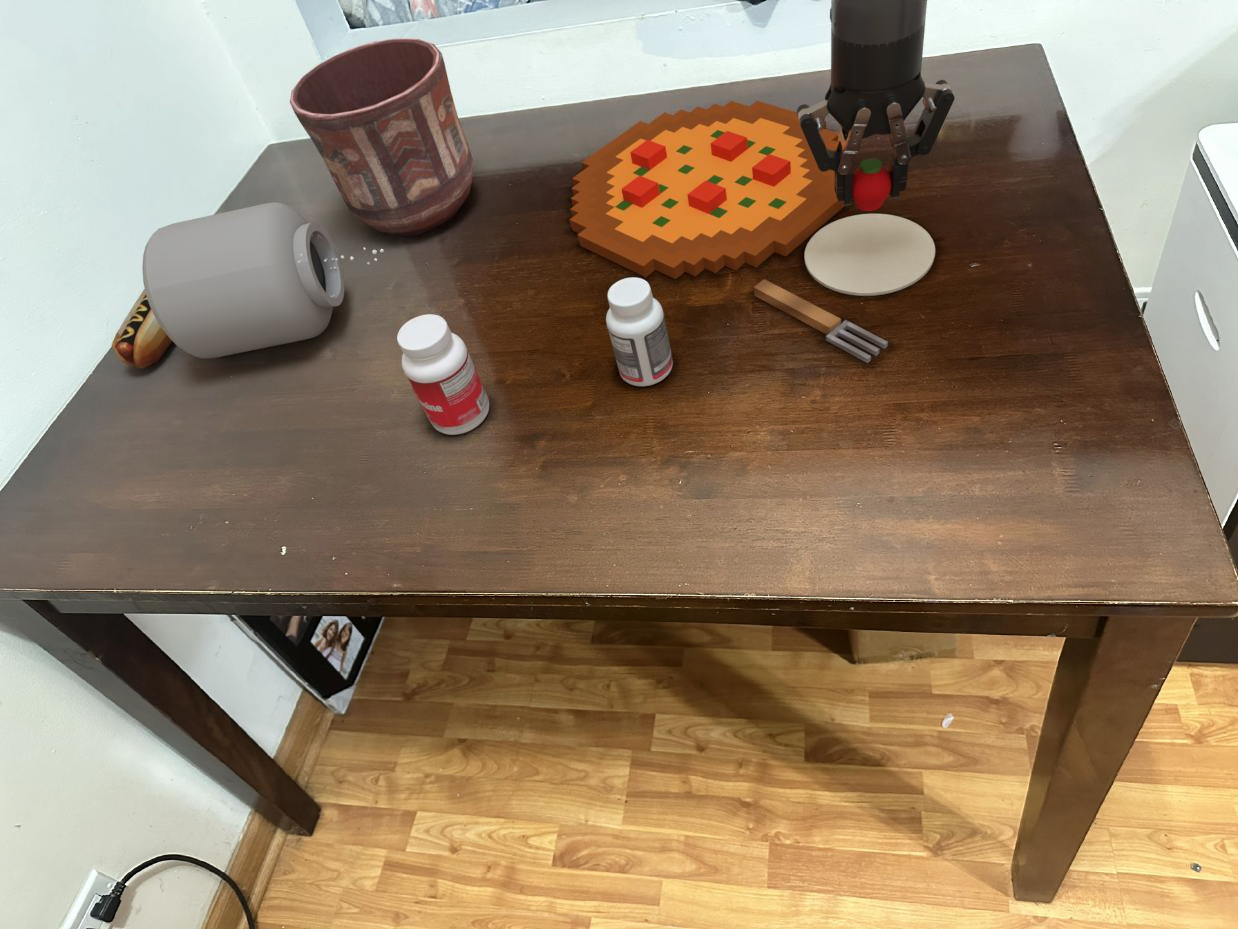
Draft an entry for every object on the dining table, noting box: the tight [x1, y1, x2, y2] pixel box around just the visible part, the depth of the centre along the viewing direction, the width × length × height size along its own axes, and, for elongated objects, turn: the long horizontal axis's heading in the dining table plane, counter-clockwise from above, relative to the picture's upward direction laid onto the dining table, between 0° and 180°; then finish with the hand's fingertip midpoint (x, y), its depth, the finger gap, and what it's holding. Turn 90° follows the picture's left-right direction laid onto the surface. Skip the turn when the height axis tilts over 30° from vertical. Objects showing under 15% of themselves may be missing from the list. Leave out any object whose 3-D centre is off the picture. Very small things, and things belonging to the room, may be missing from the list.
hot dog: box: [111, 288, 173, 369], centre depth 102 cm, size 5×13×5 cm, turn 176°
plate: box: [804, 213, 936, 297], centre depth 89 cm, size 13×13×1 cm
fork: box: [753, 278, 889, 364], centre depth 84 cm, size 15×3×1 cm, turn 41°
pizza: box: [568, 100, 845, 280], centre depth 101 cm, size 32×32×3 cm
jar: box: [141, 201, 385, 360], centre depth 94 cm, size 19×15×25 cm
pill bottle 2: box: [605, 276, 674, 387], centre depth 81 cm, size 5×5×10 cm
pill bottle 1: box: [396, 313, 490, 436], centre depth 82 cm, size 6×6×11 cm
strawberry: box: [852, 157, 892, 212], centre depth 83 cm, size 4×4×4 cm
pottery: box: [289, 37, 474, 237], centre depth 104 cm, size 18×18×18 cm
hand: (869, 196), depth 84 cm, fingers closed on strawberry, 4 cm apart
